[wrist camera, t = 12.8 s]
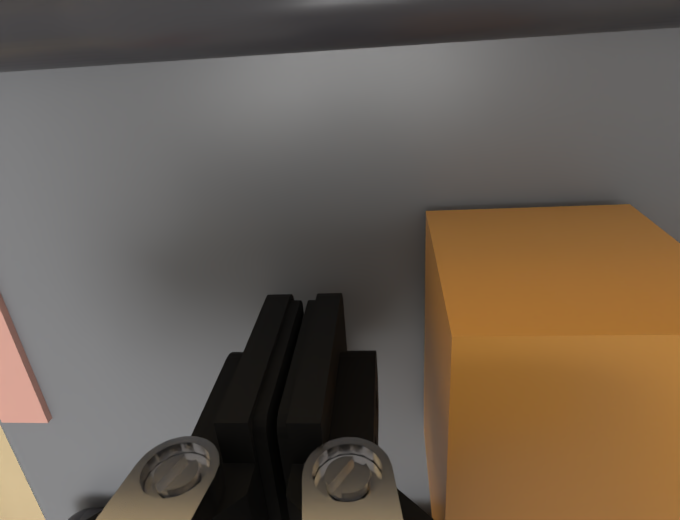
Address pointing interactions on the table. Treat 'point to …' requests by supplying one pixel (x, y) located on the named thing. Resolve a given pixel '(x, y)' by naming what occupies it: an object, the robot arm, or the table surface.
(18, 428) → the breaker block
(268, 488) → the robot arm
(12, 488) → the table surface
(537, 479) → the handle
